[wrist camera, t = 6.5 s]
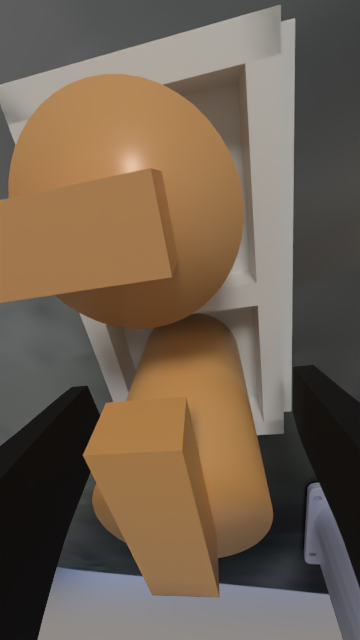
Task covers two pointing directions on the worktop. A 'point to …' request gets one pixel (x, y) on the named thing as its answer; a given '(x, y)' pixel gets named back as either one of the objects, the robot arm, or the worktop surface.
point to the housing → (162, 196)
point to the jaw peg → (182, 460)
